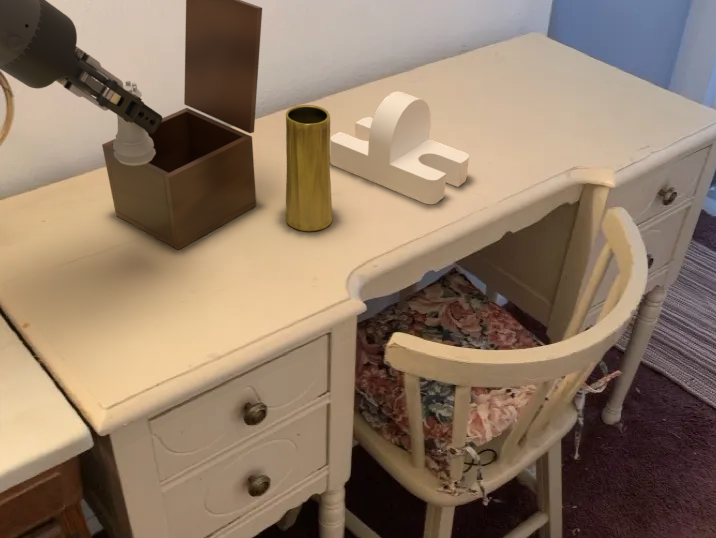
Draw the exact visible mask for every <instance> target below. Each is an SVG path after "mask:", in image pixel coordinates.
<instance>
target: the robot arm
mask: <svg viewBox="0 0 716 538" xmlns="http://www.w3.org/2000/svg"><path fill="white" fill-rule="evenodd" d="M77 43H78V34H77V28H76V25H75V23H74V22H73V20H72V19H71V17H69V16H68V15H67V14H65V13H64V12H63V11H61V10H60V9H58V8H57V7H56V6H54V5H53V4H51V3H50V2H49V1H48V0H0V70H1V71H2V72H5V73H6V74H7V75H9V76H11V77H13V78H14V79H15V80H17V81H18V82H20V83H22V84H24V85H25V86H27V87H28V88H32V89H37V90H38V89H44V88H47V87H49V86H52V85H53V84H54V83H55V82H57V83H58V84H60V85H61V86H62V87H63V88H64V89H66V90H67V91H69V92H70V93H71V94H73V95H75V96H76V97H78V98H84V99H86V100H87V101H88V102H90V103H92V104H93V105H95V106H97V107H98V108H99V109H101V110H103V111H111V112H112V113H114V114H115V115H116V116H117V115H119V116H120V117H121V118H123V120H125V121H126V122H128V121H129V122H130V123H132V122H134V123H135V124H137V125H138V126H140V127H141V128H143V129H144V130H146V131H147V132H149V133H151V134H152V133H154V132H155V131H156V130H157V128H158V127H159V125H160V123H161V122H162V118H163V116H162V114H160V113H158V112H157V111H156V110H154V109H153V108H151V107H150V106H148V105H147V104H145V102H144V101H142V100H143V99H142V98H139V97H138V96H136V95H135V94H134V93H133V94H131V93H130V92H128V91H127V90H125V89H124V88H123V85H124V82H123V81H122V80H121V79H120V78H118V77H117V76H115V75H114V74H112V73H111V72H110V71H108V70H107V69H105V68H104V67H102V65H101V63H100V61H99V60H97V59H96V58H94V57H93V56H91V55H90V54H88V53H87V52H85V51H84V50H82V49H81V48H80V47H79V46H77Z"/></svg>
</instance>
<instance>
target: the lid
mask: <svg viewBox="0 0 716 538" xmlns="http://www.w3.org/2000/svg"><path fill="white" fill-rule="evenodd" d="M262 19H263V7H261V6H258V5H255V4H252V3H250V2H248V1H244V0H185V36H184V37H185V42H184V46H185V47H184V93H183V94H184V98H183V100H184V105H185V106H187V107H189V108H190V109H194V110H196V111H198V112H199V113H200V112H201V113H203V114H204V115H207V116H208V117H209V116H210V117H211V118H214V119H215V120H217V121H218V120H219V121H220V122H222V123H225V124H226V125H230V126H232V127H234V128H235V129H236V128H237V129H239V130H241V131H244V133H245V132H246V133H248V134H252V133H253V134H254V133H255V125H256V123H255V122H256V109H257V95H258V80H259V77H258V76H259V64H260V50H261V33H262Z"/></svg>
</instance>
